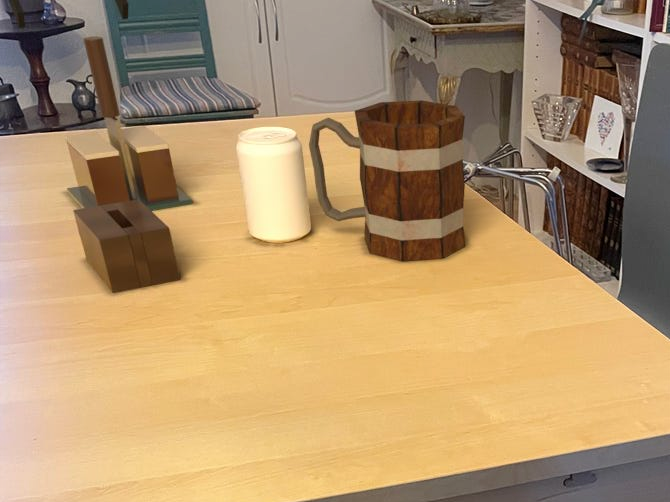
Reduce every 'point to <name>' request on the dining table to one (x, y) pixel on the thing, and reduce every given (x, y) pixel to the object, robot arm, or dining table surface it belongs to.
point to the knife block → (127, 245)
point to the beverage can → (273, 184)
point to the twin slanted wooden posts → (107, 174)
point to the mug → (404, 178)
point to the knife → (108, 102)
